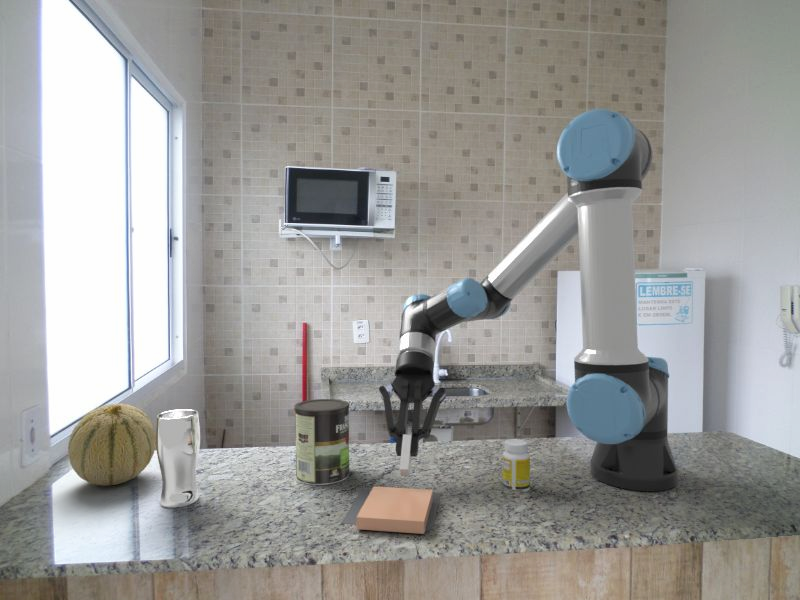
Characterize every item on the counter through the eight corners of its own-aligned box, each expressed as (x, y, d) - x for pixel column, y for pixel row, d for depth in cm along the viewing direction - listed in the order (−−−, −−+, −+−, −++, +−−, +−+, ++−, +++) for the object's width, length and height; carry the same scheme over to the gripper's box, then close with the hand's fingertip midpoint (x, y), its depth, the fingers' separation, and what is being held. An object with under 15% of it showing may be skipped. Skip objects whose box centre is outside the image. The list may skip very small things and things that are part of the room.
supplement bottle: (532, 485, 98) (532, 439, 98) (526, 495, 94) (526, 447, 93) (506, 481, 100) (506, 436, 100) (499, 490, 96) (499, 444, 95)
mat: (441, 496, 94) (441, 492, 94) (432, 533, 80) (432, 529, 80) (362, 491, 96) (362, 488, 96) (340, 527, 82) (340, 523, 82)
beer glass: (209, 495, 94) (208, 410, 94) (181, 511, 88) (179, 420, 87) (177, 490, 97) (175, 407, 96) (147, 506, 90) (145, 417, 90)
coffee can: (356, 470, 107) (355, 399, 106) (340, 490, 97) (339, 411, 96) (307, 466, 109) (306, 397, 108) (286, 486, 99) (285, 409, 98)
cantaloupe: (123, 464, 111) (121, 392, 110) (174, 475, 104) (172, 398, 104) (49, 489, 98) (47, 407, 97) (103, 504, 91) (100, 416, 91)
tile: (432, 489, 90) (424, 521, 78) (432, 502, 90) (424, 535, 78) (373, 486, 91) (356, 517, 79) (373, 498, 91) (356, 530, 79)
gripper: (448, 372, 110) (443, 484, 94) (385, 371, 112) (370, 480, 96) (447, 349, 104) (441, 464, 89) (380, 348, 106) (363, 461, 91)
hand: (404, 472), depth 92 cm, fingers closed
